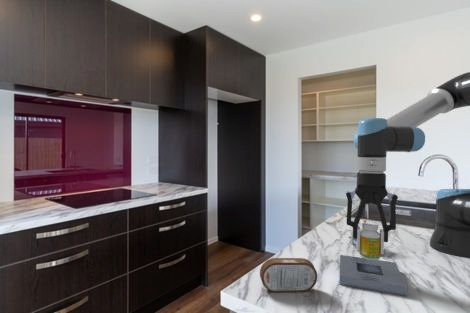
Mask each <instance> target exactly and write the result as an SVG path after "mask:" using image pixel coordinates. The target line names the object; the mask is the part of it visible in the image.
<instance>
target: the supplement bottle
mask: <svg viewBox="0 0 470 313" xmlns="http://www.w3.org/2000/svg"><path fill="white" fill-rule="evenodd" d="M362 228H363V230H362V229H361V231H360V251H359V256H360V258H364V259H367V260H381V259H380V258H381V254H380V231H378V228H379V226H378V224H377V223H374V222H367V221H366V223H364V222H362Z"/></svg>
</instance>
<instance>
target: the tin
mask: <svg viewBox="0 0 470 313" xmlns="http://www.w3.org/2000/svg"><path fill="white" fill-rule="evenodd" d="M259 277H260V280H261V283H262V285H263V287H265V289H267V290H268V291H270V292H272V293H305V292H308V291H310V290H312V289H313V288H314V287H315V285H316V284H317V282H318V272H317V269H316V268H315V265H314V264H313V263H312V262H311V261H310V260H309V259H307V258H303V257H272V258H269V259H267V260H266V261H264V262H263V263H262V265H261V267H260V270H259Z"/></svg>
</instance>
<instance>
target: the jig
mask: <svg viewBox="0 0 470 313" xmlns="http://www.w3.org/2000/svg"><path fill="white" fill-rule="evenodd" d="M339 285H340V286H346V287H351V288H356V289H364V290H369V291H373V292H379V293H385V294H390V295H396V296H402V297H408V286H407V284H406V282H405V280H404V277H403V276H402V273H401V271H400V269H399V267H398V265H397V263H396V262H393V261H387V260H381V259H379V260H367V259H364V258H362V257H361V256H360V257H358V256H351V255H345V254H340V255H339Z"/></svg>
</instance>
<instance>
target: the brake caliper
mask: <svg viewBox="0 0 470 313" xmlns="http://www.w3.org/2000/svg"><path fill="white" fill-rule="evenodd" d="M366 222H367V220H366V219H364V220H363V223H366ZM358 227H360V226H359V225H358ZM361 230H363V227H362V229H361V228H360V231H361ZM348 238H349V239H350V240H351V242H348V244H349V245H352V246H354V248H355V249H356V250H357V239H354V238H353V228H351V232H350V234H349V235H348Z"/></svg>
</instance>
